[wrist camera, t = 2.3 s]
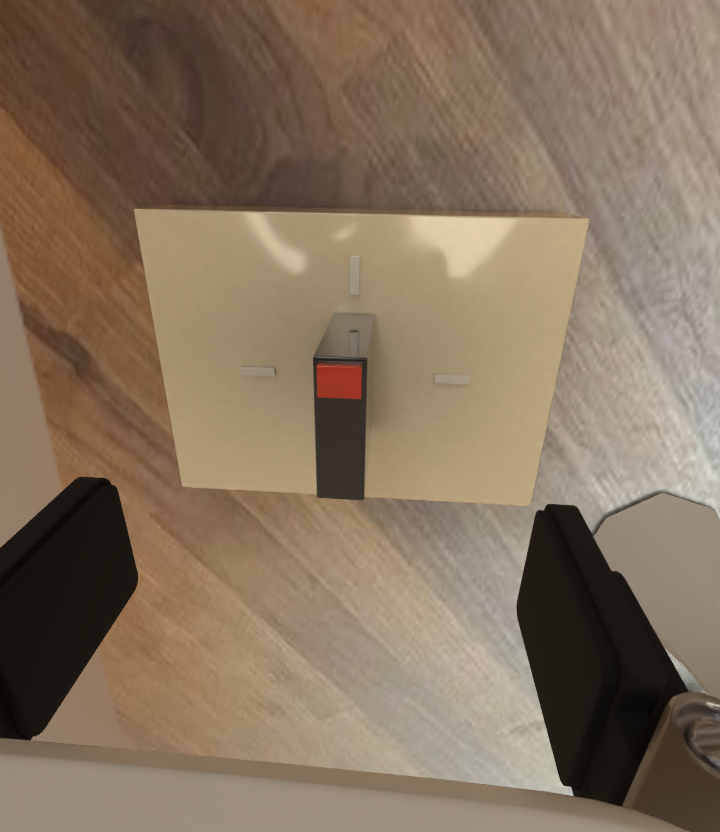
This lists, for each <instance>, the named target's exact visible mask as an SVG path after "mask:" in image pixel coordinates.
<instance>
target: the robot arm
mask: <svg viewBox="0 0 720 832" xmlns="http://www.w3.org/2000/svg"><path fill="white" fill-rule="evenodd" d="M137 583H138V572H137V568H136V564H135V560H134V556H133V552H132V547H131V543H130V539H129V535H128V531H127V527H126V522H125V518H124V514H123V510H122V506H121V502H120V497H119V493H118V490H117V488H116V486H114V485H111V483H110V481H109V480H108V479H106V478H94V477H78V478H77V479H75V480H74V481H73V482H72V483H71V484H70V485H69V486H68V487H66V488H65V489H64V490H63V491H62V492H61V493H60V494H59V495H58V496H57V497H55V499H53V500H52V501H51V502H50V503H49V504H48V505H47V506H46V507H45V508H43V509H42V510H41V511H40V512H39V513H38V514H37V515H36V516H35V517H34V518H33V519H32V520H30V521H29V522H28V523H27V524H26V525H25V526H24V527H23V528H22V529H21V530H19V531H18V532H17V533H16V534H15V535H14V536H13V537H12V538H11V539H10V540H8V541H7V542H6V543H5V544H4V545H3V546H2V547H1V548H0V832H720V699H718V698H716V697H713V696H709V695H705V694H701V693H689V691H688V690H687V688H686V686H685V684H684V683H683V681H682V679H681V677H680V675H679V674H678V672H677V670H676V668H675V666H674V665H673V663H672V661H671V659H670V658H669V656H668V654H667V652H666V650H665V649H664V647H663V645H662V643H661V641H660V640H659V638H658V636H657V634H656V633H655V631H654V629H653V627H652V625H651V624H650V622H649V620H648V618H647V616H646V615H645V613H644V611H643V609H642V608H641V606H640V604H639V602H638V600H637V599H636V597H635V595H634V593H633V591H632V590H631V588H630V586H629V584H628V583H627V581H626V579H625V578H624V577H623V575H622V574H621V573H619V572H618V571H611V569H610V567H609V565H608V563H607V561H606V559H605V558H604V556H603V554H602V552H601V550H600V548H599V546H598V545H597V543H596V541H595V539H594V537H593V535H592V533H591V531H590V530H589V528H588V526H587V524H586V522H585V520H584V518H583V517H582V515H581V513H580V511H579V509H578V508H577V507H576V506H574V505H557V504H548V505H546V507H545V510H544V511H543V510H538V511H537V512H536V515H535V519H534V524H533V529H532V534H531V538H530V543H529V548H528V552H527V557H526V562H525V567H524V571H523V576H522V581H521V585H520V590H519V595H518V600H517V618H518V622H519V626H520V630H521V633H522V637H523V641H524V645H525V649H526V652H527V656H528V660H529V664H530V668H531V671H532V675H533V679H534V683H535V687H536V690H537V694H538V698H539V702H540V706H541V709H542V713H543V717H544V721H545V725H546V728H547V732H548V736H549V740H550V744H551V748H552V751H553V755H554V759H555V763H556V767H557V770H558V774H559V777H560V780H561V782H562V784H563V785H564V786H570V787H572V791H573V795H574V796H568V795H563V794H557V793H551V792H544V791H536V790H528V789H519V788H511V787H502V786H494V785H486V784H477V783H469V782H460V781H452V780H442V779H432V778H422V777H412V776H402V775H392V774H382V773H372V772H362V771H352V770H342V769H332V768H322V767H313V766H302V765H292V764H281V763H271V762H260V761H250V760H239V759H229V758H218V757H207V756H197V755H186V754H175V753H165V752H154V751H143V750H131V749H120V748H109V747H98V746H86V745H74V744H64V743H52V742H42V741H41V742H40V741H30V740H31V739H32V737H33V736H37V735H39V734H40V733H41V732H42V731H43V730H44V729H45V727H46V726H47V725H48V723H49V722H50V720H51V718H52V717H53V715H54V714H55V712H56V711H57V709H58V707H59V706H60V705H61V703H62V702H63V700H64V698H65V697H66V695H67V694H68V692H69V691H70V689H71V688H72V686H73V685H74V683H75V682H76V680H77V679H78V677H79V675H80V674H81V672H82V671H83V669H84V668H85V666H86V665H87V663H88V662H89V660H90V659H91V657H92V656H93V654H94V653H95V651H96V649H97V648H98V646H99V645H100V643H101V642H102V640H103V639H104V637H105V636H106V634H107V633H108V631H109V630H110V628H111V626H112V625H113V623H114V622H115V620H116V619H117V617H118V616H119V614H120V613H121V611H122V610H123V608H124V607H125V605H126V604H127V602H128V600H129V599H130V597H131V596H132V594H133V593H134V591H135V589H136V586H137Z"/></svg>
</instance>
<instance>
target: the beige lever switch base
mask: <svg viewBox="0 0 720 832" xmlns="http://www.w3.org/2000/svg"><path fill="white" fill-rule="evenodd" d="M134 214H135V220H136V226H137V231H138V237H139V243H140V248H141V254H142V260H143V266H144V271H145V277H146V283H147V288H148V294H149V300H150V306H151V311H152V317H153V323H154V328H155V334H156V340H157V345H158V351H159V357H160V363H161V368H162V374H163V380H164V385H165V391H166V397H167V402H168V408H169V414H170V420H171V425H172V431H173V437H174V442H175V448H176V454H177V460H178V465H179V471H180V477H181V482H182V487H193V488H211V489H229V490H247V491H265V492H283V493H301V494H317V487H316V452H315V418H314V384H313V356H314V354H315V351H316V349H317V347H318V345H319V343H320V341H321V339H322V337H323V335H324V333H325V331H326V328H327V326H328V324H329V322H330V320H331V318H332V316H333V314H334V313H348V314H374V315H375V342H374V376H373V410H372V434H371V443H370V452H369V461H368V471H367V480H366V489H365V497H373V498H391V499H409V500H427V501H445V502H463V503H481V504H499V505H517V506H530V505H531V500H532V495H533V490H534V485H535V481H536V476H537V471H538V466H539V461H540V456H541V452H542V447H543V442H544V437H545V432H546V428H547V423H548V418H549V413H550V408H551V404H552V399H553V394H554V389H555V384H556V380H557V375H558V370H559V365H560V360H561V356H562V351H563V346H564V341H565V336H566V331H567V327H568V322H569V317H570V312H571V307H572V303H573V298H574V293H575V288H576V283H577V279H578V274H579V269H580V264H581V259H582V255H583V250H584V245H585V240H586V235H587V231H588V226H589V221H590V220H589V219H588V218H584V217H579V216H575V215H571V214H566V213H553V212H506V211H458V210H411V209H363V208H316V207H268V206H220V205H173V204H168V205H161V206H153V207H145V208H137V209H134Z"/></svg>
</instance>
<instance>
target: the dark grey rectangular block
mask: <svg viewBox="0 0 720 832" xmlns="http://www.w3.org/2000/svg"><path fill="white" fill-rule="evenodd" d="M374 342H375V315H374V314H348V313H334V314H333V316H332V318H331V320H330V322H329V324H328V326H327V328H326V331H325V333H324V335H323V337H322V339H321V341H320V343H319V345H318V347H317V349H316V351H315V354H314V356H313V384H314V418H315V452H316V487H317V497H318V498H331V499H349V500H364V498H365V489H366V480H367V471H368V461H369V452H370V443H371V434H372V410H373V376H374Z"/></svg>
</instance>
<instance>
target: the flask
mask: <svg viewBox="0 0 720 832" xmlns="http://www.w3.org/2000/svg"><path fill="white" fill-rule="evenodd" d="M594 539H595V541H596V543H597V545H598V546H599V548H600V550H601V552H602V554H603V556H604V558H605V559H606V561H607V563H608V565H609V567H610V569H611V571H618V572H619V573H621V574H622V575H623V577H624V578H625V579H626V581H627V583H628V584H629V586H630V588H631V590H632V591H633V593H634V595H635V597H636V599H637V600H638V602H639V604H640V606H641V608H642V609H643V611H644V613H645V615H646V616H647V618H648V620H649V622H650V624H651V625H652V627H653V629H654V631H655V633H656V634H657V636H658V638H659V640H660V641H661V643H662V645H663V647H664V648H665V649H667V650H668V651H669V652H670V653H671V654H672V655H673V656H674V657H675V658H676V659H677V660H678V661H680V662H681V663H682V664H683V665H684V666H685V667H686V668H687V669H688V670H689V672H690V673H691V674H692V675H693V676H694V678H695V679H696V680H697V681H698V682H699V684H700V685H701V686H702V687H703V689H704V690H705V691H706V692H707V693H708V695H709V696H713V697H716V698H718V699H720V519H719V517H718V515H717V513H716V511H715V509H712V508H709V507H706V506H702V505H699V504H696V503H693V502H690V501H687V500H684V499H681V498H677V497H674V496H671V495H668V494H665V493H661V494H659V495H656V496H654V497H652V498H650V499H647V500H645V501H643V502H641V503H638V504H636V505H634V506H632V507H629V508H627V509H625V510H623V511H620V512H618V513H616V514H614V515H611V516H609V517H607V518H606V519H605V521H604V522H603V524H602V525H601V526H600V528H599V529H598V531H597V532H596V534H595V535H594Z"/></svg>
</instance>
